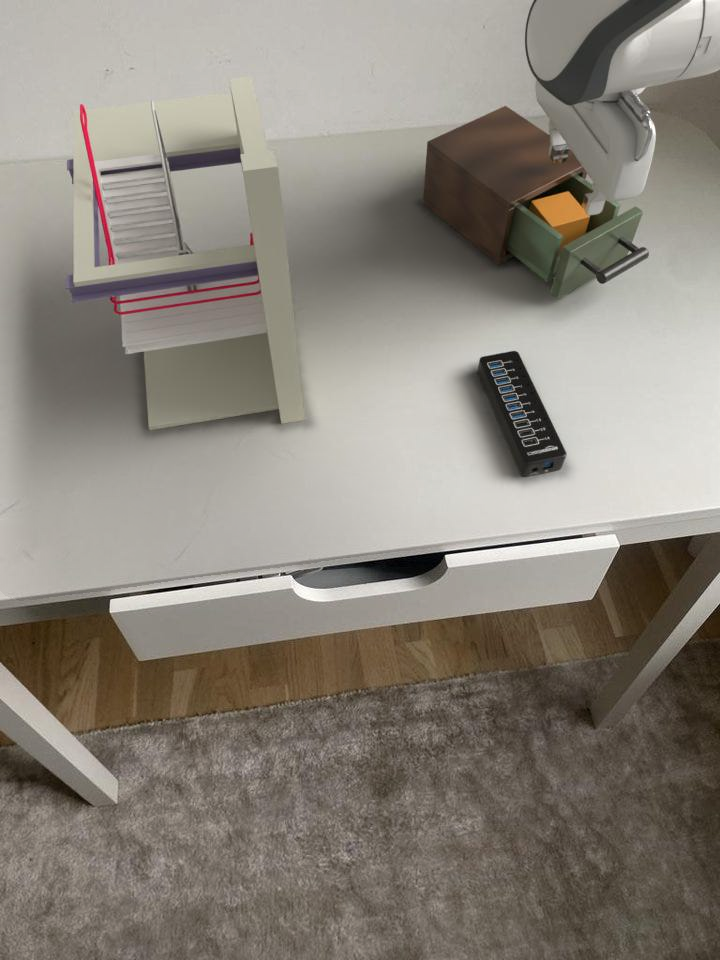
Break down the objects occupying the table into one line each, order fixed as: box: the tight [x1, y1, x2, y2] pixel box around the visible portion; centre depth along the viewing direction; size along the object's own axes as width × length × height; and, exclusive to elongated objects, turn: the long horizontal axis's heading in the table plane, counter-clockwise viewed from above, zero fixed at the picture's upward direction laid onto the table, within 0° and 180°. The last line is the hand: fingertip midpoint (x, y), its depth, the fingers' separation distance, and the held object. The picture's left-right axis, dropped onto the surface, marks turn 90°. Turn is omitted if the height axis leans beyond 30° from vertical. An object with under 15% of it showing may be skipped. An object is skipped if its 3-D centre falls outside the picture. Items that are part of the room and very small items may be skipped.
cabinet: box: [422, 105, 588, 265], centre depth 95 cm, size 15×13×9 cm
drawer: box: [506, 174, 650, 300], centre depth 90 cm, size 18×12×7 cm, turn 36°
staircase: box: [65, 75, 306, 431], centre depth 74 cm, size 27×18×30 cm
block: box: [529, 191, 590, 257], centre depth 90 cm, size 5×5×5 cm
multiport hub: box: [476, 350, 568, 478], centre depth 79 cm, size 4×14×2 cm, turn 14°
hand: (573, 184), depth 85 cm, fingers open, 8 cm apart
